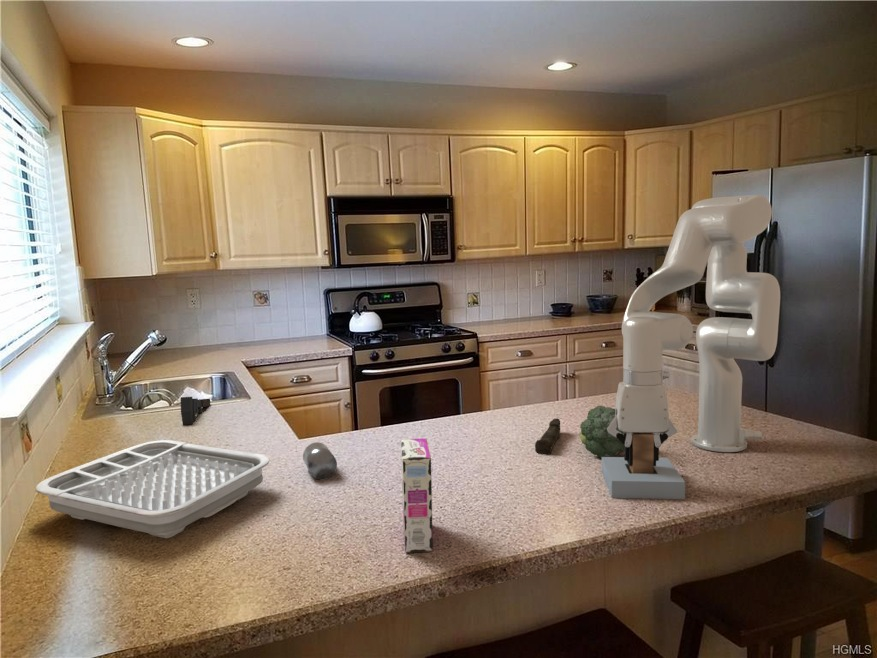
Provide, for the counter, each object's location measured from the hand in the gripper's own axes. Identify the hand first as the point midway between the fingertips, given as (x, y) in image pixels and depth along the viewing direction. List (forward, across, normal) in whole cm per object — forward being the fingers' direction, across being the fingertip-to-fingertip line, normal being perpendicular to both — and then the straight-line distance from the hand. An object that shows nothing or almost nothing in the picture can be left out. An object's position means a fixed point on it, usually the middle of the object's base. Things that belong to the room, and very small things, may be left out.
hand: (641, 462), depth 127 cm
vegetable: (+5, +5, -21) cm, 22 cm away
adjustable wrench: (+5, +126, -53) cm, 137 cm away
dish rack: (+5, +98, +15) cm, 99 cm away
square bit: (+3, 0, 0) cm, 3 cm away
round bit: (+2, +72, -7) cm, 73 cm away
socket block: (+5, 0, 0) cm, 5 cm away
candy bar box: (+5, +43, +26) cm, 51 cm away
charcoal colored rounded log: (+5, +17, -27) cm, 33 cm away
